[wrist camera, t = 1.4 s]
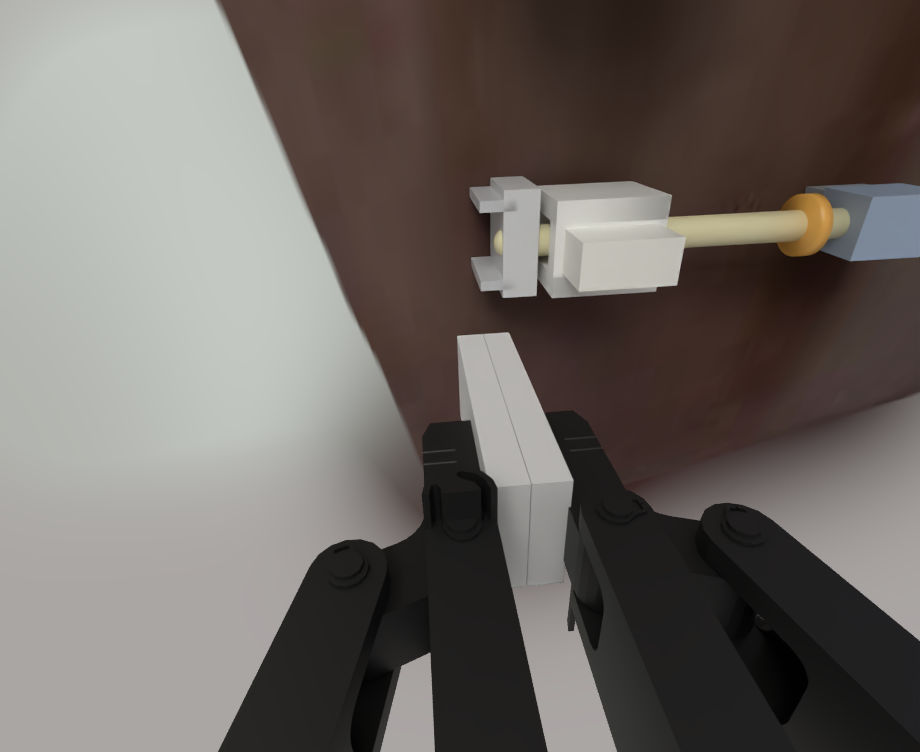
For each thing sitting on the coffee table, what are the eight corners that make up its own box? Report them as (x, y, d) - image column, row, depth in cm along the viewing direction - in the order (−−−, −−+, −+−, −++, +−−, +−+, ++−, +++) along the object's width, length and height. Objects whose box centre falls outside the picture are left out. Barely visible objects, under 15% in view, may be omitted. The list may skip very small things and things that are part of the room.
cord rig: (469, 178, 30) (481, 194, 25) (879, 158, 32) (967, 169, 27) (471, 273, 33) (482, 304, 28) (847, 250, 35) (920, 275, 30)
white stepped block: (534, 185, 30) (575, 212, 22) (632, 181, 30) (702, 205, 23) (531, 270, 32) (566, 318, 25) (621, 265, 33) (681, 311, 25)
